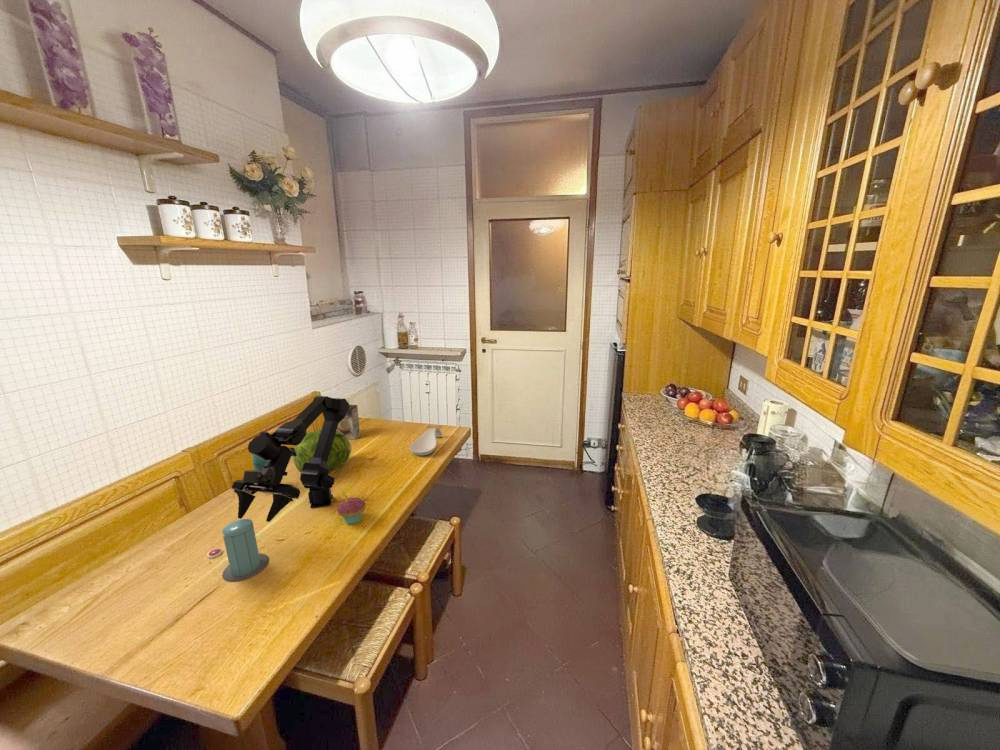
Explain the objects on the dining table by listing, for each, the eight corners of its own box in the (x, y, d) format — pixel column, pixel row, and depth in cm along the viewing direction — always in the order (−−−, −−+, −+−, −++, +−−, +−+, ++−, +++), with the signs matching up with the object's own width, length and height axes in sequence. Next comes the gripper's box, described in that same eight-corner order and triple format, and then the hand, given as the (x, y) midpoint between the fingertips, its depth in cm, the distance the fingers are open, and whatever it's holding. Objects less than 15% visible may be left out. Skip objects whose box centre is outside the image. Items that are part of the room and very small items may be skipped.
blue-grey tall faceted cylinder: (259, 555, 114) (252, 516, 111) (261, 569, 108) (253, 528, 105) (231, 564, 110) (222, 524, 107) (231, 579, 105) (222, 538, 101)
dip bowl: (224, 550, 117) (223, 546, 117) (219, 558, 114) (218, 554, 113) (210, 552, 116) (210, 549, 116) (205, 561, 113) (204, 557, 113)
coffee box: (337, 439, 195) (333, 408, 192) (344, 434, 202) (340, 403, 198) (354, 440, 194) (350, 408, 190) (361, 434, 200) (357, 404, 196)
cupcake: (340, 530, 124) (335, 496, 122) (337, 516, 132) (333, 484, 129) (369, 522, 128) (365, 489, 125) (364, 509, 136) (360, 477, 133)
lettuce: (369, 442, 170) (340, 414, 175) (327, 456, 148) (296, 423, 153) (349, 473, 175) (322, 445, 179) (306, 490, 153) (276, 458, 158)
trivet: (274, 551, 116) (274, 550, 116) (262, 578, 105) (261, 577, 105) (232, 558, 113) (232, 557, 113) (215, 586, 103) (214, 585, 103)
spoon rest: (431, 460, 171) (430, 444, 170) (405, 458, 174) (404, 442, 172) (449, 438, 194) (448, 424, 192) (426, 437, 196) (425, 423, 194)
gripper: (230, 454, 114) (203, 510, 106) (287, 458, 110) (263, 517, 102) (256, 466, 123) (233, 519, 116) (309, 471, 120) (289, 525, 112)
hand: (253, 520), depth 111 cm, fingers open, 9 cm apart
